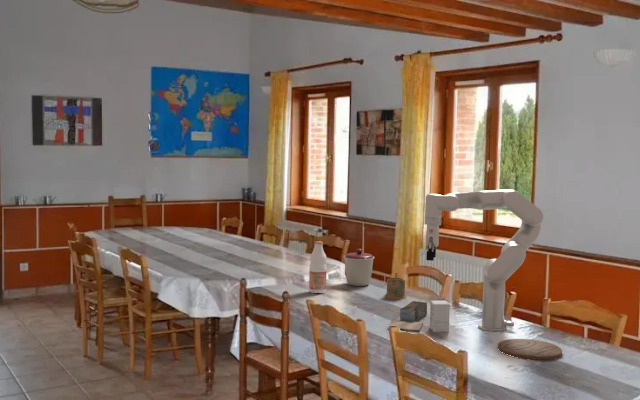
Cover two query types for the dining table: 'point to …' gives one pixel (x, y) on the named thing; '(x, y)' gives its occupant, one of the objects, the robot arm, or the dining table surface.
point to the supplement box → (439, 316)
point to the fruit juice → (317, 269)
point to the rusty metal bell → (395, 288)
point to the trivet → (530, 349)
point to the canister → (358, 268)
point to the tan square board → (407, 325)
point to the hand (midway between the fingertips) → (430, 258)
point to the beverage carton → (413, 311)
